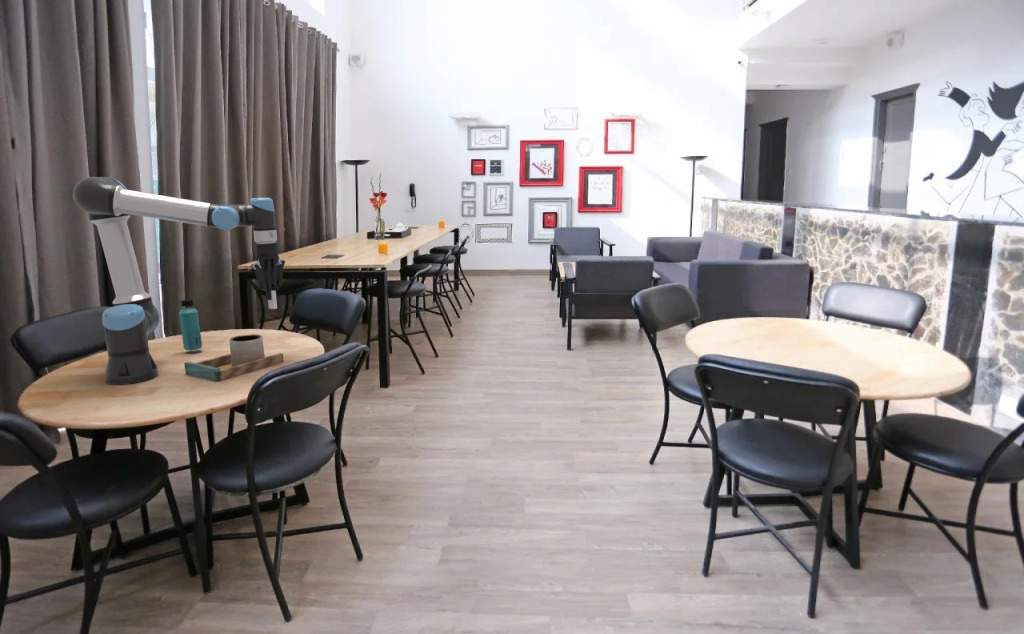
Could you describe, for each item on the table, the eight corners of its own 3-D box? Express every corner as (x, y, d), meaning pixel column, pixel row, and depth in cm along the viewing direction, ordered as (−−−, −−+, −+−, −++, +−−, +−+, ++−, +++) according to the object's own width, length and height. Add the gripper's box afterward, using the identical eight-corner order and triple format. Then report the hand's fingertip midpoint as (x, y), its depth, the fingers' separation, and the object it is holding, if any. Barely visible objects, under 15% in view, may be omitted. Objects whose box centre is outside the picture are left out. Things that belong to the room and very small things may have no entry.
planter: (224, 366, 226) (221, 339, 224) (250, 358, 236) (247, 332, 234) (246, 370, 221) (244, 342, 219) (272, 362, 231) (269, 335, 229)
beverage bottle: (198, 354, 243) (191, 301, 239) (180, 354, 243) (173, 301, 239) (206, 349, 250) (200, 298, 245) (189, 349, 250) (182, 298, 246)
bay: (217, 381, 209) (216, 369, 208) (185, 374, 218) (184, 362, 217) (283, 361, 231) (282, 350, 230) (252, 355, 239) (251, 345, 239)
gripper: (257, 244, 222) (264, 312, 227) (288, 241, 233) (294, 306, 238) (243, 244, 226) (250, 310, 231) (274, 240, 237) (280, 304, 242)
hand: (273, 308), depth 235 cm, fingers closed
